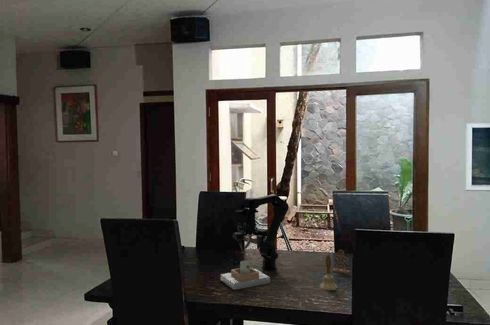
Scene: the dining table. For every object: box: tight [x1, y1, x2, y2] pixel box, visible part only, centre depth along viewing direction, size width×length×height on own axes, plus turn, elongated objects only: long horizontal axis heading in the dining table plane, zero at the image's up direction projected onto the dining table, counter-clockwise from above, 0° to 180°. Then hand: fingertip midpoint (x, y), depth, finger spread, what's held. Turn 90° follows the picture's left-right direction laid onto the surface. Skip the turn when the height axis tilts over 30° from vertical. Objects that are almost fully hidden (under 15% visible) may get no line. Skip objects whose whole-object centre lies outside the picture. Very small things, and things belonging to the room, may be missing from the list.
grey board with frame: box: [220, 266, 271, 291], centre depth 206 cm, size 20×16×6 cm
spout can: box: [239, 260, 251, 275], centre depth 205 cm, size 5×7×7 cm
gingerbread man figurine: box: [331, 249, 351, 275], centre depth 220 cm, size 9×4×12 cm, turn 60°
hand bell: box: [319, 254, 338, 291], centre depth 196 cm, size 8×8×16 cm
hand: (250, 250), depth 217 cm, fingers open, 9 cm apart
